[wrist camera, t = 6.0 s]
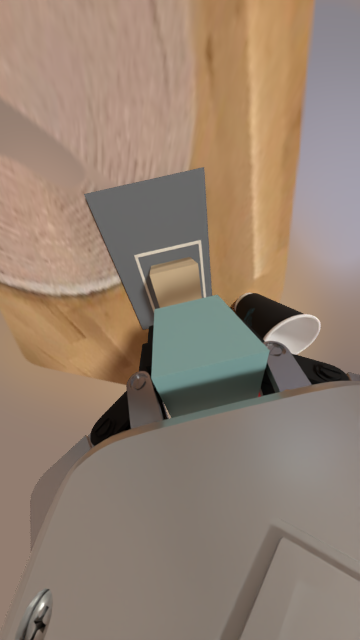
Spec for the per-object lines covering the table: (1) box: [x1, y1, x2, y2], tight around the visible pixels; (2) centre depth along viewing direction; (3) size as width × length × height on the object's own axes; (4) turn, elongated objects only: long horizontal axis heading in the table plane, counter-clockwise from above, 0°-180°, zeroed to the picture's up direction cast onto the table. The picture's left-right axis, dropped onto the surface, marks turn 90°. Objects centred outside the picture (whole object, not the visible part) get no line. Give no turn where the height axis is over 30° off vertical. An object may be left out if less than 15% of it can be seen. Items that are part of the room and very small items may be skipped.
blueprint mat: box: [84, 167, 212, 330], centre depth 21 cm, size 20×14×1 cm
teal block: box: [151, 295, 270, 418], centre depth 10 cm, size 5×5×6 cm
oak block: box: [150, 257, 202, 308], centre depth 20 cm, size 6×6×5 cm
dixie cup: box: [235, 293, 320, 355], centre depth 23 cm, size 8×8×11 cm
